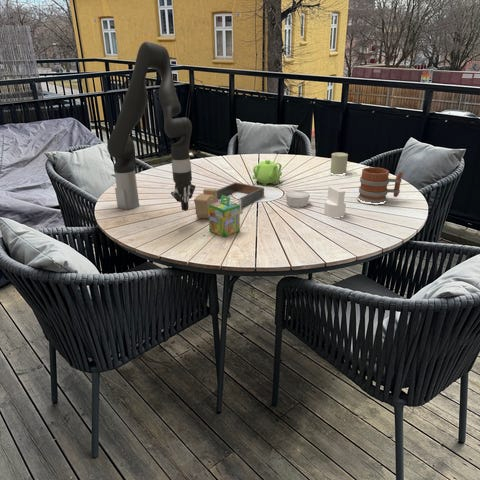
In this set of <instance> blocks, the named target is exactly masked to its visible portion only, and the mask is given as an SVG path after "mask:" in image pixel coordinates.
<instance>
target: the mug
mask: <svg viewBox="0 0 480 480" xmlns="http://www.w3.org/2000/svg"><path fill="white" fill-rule="evenodd" d="M361 171H362V172H361V176H360V179H359V182H360V186H359V188H358V192H359V195H357V197H358V198H359V199H360V200H362V201H365V202H371V203H380V202H384V201H386V200H387V201H388V199H386V198H387V195H388V194H389V193H392V194H393V197H394V198H397V197H398V196H399V194H400V193H401V192H400V191H401V190H400V187H401V183H402V180H403V179H402V176H403V171H398V174H397V175H396V177H395V178H389V175H390V171H389V170H388V169H386V168H382V167H372V166H368V167H364V168H362V169H361ZM389 183H394V186H393V187H394V188H392V189H391V188H388V185H389Z"/></svg>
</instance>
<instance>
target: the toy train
mask: <svg viewBox="0 0 480 480" xmlns="http://www.w3.org/2000/svg"><path fill="white" fill-rule="evenodd" d="M216 190H217V189H215V188H203V193H200V194H201V195H200V194H197V196H196V197H194V199H193V203H194V206H195V208H194V209H195V215H196V218H197V219H206V220H207V219H208V220H209V205H210V204H213V203H216V202H219V200H218V199H217V192H216Z"/></svg>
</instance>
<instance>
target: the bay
mask: <svg viewBox="0 0 480 480" xmlns="http://www.w3.org/2000/svg"><path fill="white" fill-rule="evenodd" d="M216 192H217V199H218V201H219V200H221V196H222V195H224V196H227V197H229V195H232V194H234V193H236V192H237V193H241V194H246V195H244V196H241V197H240V198H238V204H239V205H240V214H241V213H242V209H243V208H245V207H246V205H247V206H249V205H251V204H252V203H254V202H256V201H258V200H260V199H262V198H264V197H265V187H262V186H258V185H257V186H256V185H254V184H253V185H251V184H246V183H241V182H236V181H235V182H233V183H230V184H228V185H226V186H223V187H221V188H219V189H216ZM201 194H202V193H199V195H201ZM248 204H249V205H248ZM244 206H245V207H244ZM242 207H243V208H242Z"/></svg>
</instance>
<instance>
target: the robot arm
mask: <svg viewBox="0 0 480 480" xmlns="http://www.w3.org/2000/svg"><path fill="white" fill-rule="evenodd" d="M149 69H152V70H157V72H158V73H159V76H160V80H161V81H160V85H159V88H158V100H159V103H160V106H161V109H162V113H163V128H164V129H163V131H164V133H165V136H167V137H168V138H169V139H174V138H180V139H179V140H178V141H177V142H174V143H173V144H171V146H170V152H171V169H172V178H173V179H172V181H173V182H174V184H175V185H174V190H173V191H171V193H170V194H171V196H172V198H174V199H175V200H176V202H179V203H180V206H181V210H182V211H185V212H186V211H188V210H189V207H190V206H189V201H190V200H191V199H192V198H193V195H194V192H195V190H196V184H195V185H194V184H193V183H192V180H193V177H192V176H193V175H192V163H191V158H190V157H191V156H190V143H191V142H190V141H191V136H192V132H193V131H192V130H193V126H192V121H191V120H190V119H189V118H188V117H176V118H173V117H175V116H177V115H179V114H181V111H182V108H181V103H180V100H179V97H178V94H177V92H176V91H177V90H176V88H175V84H174V77H173V69H172V64H171V59H170V53H169V51H168V50H167V48H166V47H164V46H163V45H160V44H157V43H153V42H150V41H144V42H142V43H141V45H140V46H139V49H138V50H137V53H136V59H135V63H134V68H133V72H132V75H131V77H130V82H129V85H128V88H127V91H126V92H125V96H124V100H123V101H122V104H121V108H120V112H119V113H118V117H117V120H116V123H115V126H114V127H113V129H112V132H111V134H110V137H109V138H108V141H107V145H106V149H107V152H108V155H110V156H111V157H112V158H114V159H115V158H116V162H115V163H114V165H113V172H114V179H115V185H116V187H115V188H114V190H115V198H116V205H117V208H119V209H123V210H131V209H135V208H138V207H139V206H140V203H139V202H140V200H139V193H138V191H139V190H138V183H137V176H136V168H135V167H136V162H137V161H136V148H135V147H136V146H135V142H134V139H133V138H132V137H131V136H130V135H131V134H132V131H133V130H134V128H135V127H136V126H137V125H138V123H139V122H140V121H141V119H142V117H143V116H144V115H145V114H144V113H145V110H146V108H147V106H148V102H149V95H148V90H147V86H146V78H147V73H148V70H149Z"/></svg>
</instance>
